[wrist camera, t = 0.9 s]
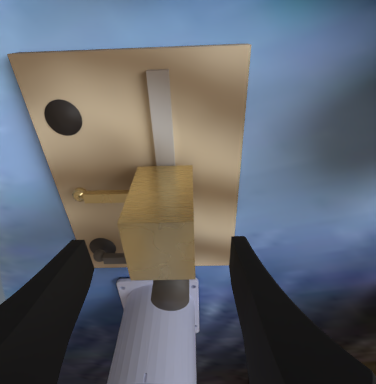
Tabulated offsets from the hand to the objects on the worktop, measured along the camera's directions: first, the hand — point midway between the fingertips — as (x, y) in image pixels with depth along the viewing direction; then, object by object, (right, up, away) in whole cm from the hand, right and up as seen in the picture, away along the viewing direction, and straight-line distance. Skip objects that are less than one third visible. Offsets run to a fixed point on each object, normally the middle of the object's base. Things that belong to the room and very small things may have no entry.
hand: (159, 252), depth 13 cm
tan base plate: (-2, +4, +6) cm, 8 cm away
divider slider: (-2, +3, +5) cm, 7 cm away
